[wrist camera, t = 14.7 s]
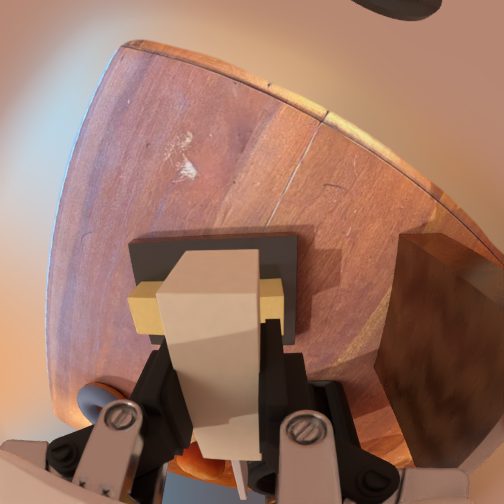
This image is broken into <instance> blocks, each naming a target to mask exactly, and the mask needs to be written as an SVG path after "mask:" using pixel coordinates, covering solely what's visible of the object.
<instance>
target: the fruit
mask: <svg viewBox="0 0 504 504" xmlns="http://www.w3.org/2000/svg"><path fill="white" fill-rule="evenodd" d="M176 459H177V464H178V465H179V466H180V467H181V468H182V470H184V471H185V472H188V473H189V474H192V475H193V476H195V477H198V478H200V479H203V480H212V479H218V478H220V477H221V475H222V474H223V472H224V469H225V460H223V459H210V458H203V455H202V453H201V450H200V447H199V445H198V442H193V443H191V444H190V446H189V449H184V452H183V456H179V455H178V456H177V458H176Z"/></svg>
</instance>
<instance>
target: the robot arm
mask: <svg viewBox="0 0 504 504" xmlns="http://www.w3.org/2000/svg"><path fill="white" fill-rule="evenodd" d="M258 420H259V453H266V466H267V467H269V468H270V469H271V470H273V471H274V472H276V486H275V504H475V503H473V502H472V501H471V500H469V499H468V494H469V478H468V475H467V474H466V472H465V471H463V470H462V469H458V468H418V467H406V468H405V469H398V468H396V467H395V466H394V465H392V464H391V463H389V462H387V461H385V460H383V459H381V458H379V457H377V456H375V455H373V454H370V453H369V452H367V451H365V450H363V449H361V448H359V447H357V446H355V445H353V444H351V443H349V442H347V441H346V440H344V439H342V438H340V437H338V436H337V435H335V434H333V427H332V424H331V422H330V420H329V419H328V418H327V417H326V416H325V415H323V414H322V413H320V412H317V411H313V410H312V406H311V400H310V394H309V388H308V382H307V376H306V370H305V365H304V359H303V354H302V353H284V352H283V342H282V332H281V322H280V319H265V323H260V372H259V381H258ZM193 428H194V427H193V424H192V421H191V418H190V415H189V412H188V409H187V406H186V402H185V399H184V396H183V393H182V389H181V386H180V382H179V379H178V375H177V372H176V370H174V368H173V364H172V361H171V357H170V353H169V349H168V345H167V341H166V337H164V340H163V342H162V344H161V346H160V348H159V350H153V351H152V353H151V354H150V356H149V358H148V360H147V362H146V365H145V367H144V369H143V371H142V373H141V375H140V377H139V379H138V382H137V384H136V386H135V388H134V390H133V392H132V395H131V397H130V399H129V400H126V399H120V400H115V401H112V402H110V403H108V404H107V405H106V406H105V407H104V408H103V409H102V411H101V412H100V414H99V417H98V419H97V421H96V423H95V424H93V425H91V426H88V427H86V428H83V429H81V430H78V431H76V432H73V433H71V434H68V435H65V436H62V437H60V438H57V439H55V440H53V441H52V442H51V443H50V444H49V443H48V442H47V441H24V440H7V441H5V442H4V443H3V444H2V445H1V447H0V504H162V498H163V492H164V486H165V481H166V476H167V471H168V465H169V461H171V460H173V459H174V455H179V456H183V452H184V449H189V446H190V442H191V437H192V432H193Z"/></svg>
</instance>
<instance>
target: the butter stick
mask: <svg viewBox="0 0 504 504" xmlns="http://www.w3.org/2000/svg"><path fill="white" fill-rule="evenodd" d="M260 318H261V323H265V319H280V322H281V332H282V335H284V293H283V287H282V281H281V278H278V279H260Z"/></svg>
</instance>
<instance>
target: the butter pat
mask: <svg viewBox="0 0 504 504" xmlns="http://www.w3.org/2000/svg"><path fill="white" fill-rule="evenodd" d="M163 282H164V281H152V282H140V283H139V285H138V286H137V287H136V288H135V289H134V290H133V292H132V293H131V294H130V295H129V296H128V302H129V306H130V309H131V313H132V316H133V320H134V323H135V327H136V330H137V333H138V334H153V335H165V333H164V329H163V325H162V320H161V316H160V311H159V307H158V302H157V297H156V292H157V291H158V290H159V288H160V287H161V285H162V284H163Z"/></svg>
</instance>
